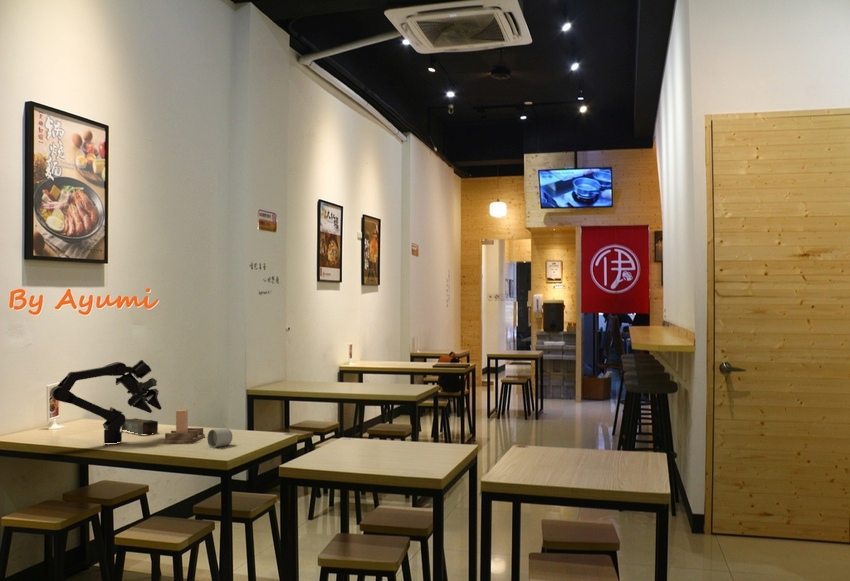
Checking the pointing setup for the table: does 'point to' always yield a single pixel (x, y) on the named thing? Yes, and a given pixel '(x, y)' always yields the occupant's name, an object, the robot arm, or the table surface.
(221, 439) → the grey cup
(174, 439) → the slotted wooden tray
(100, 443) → the table surface
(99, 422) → the table surface
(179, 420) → the clay slab
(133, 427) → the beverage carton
